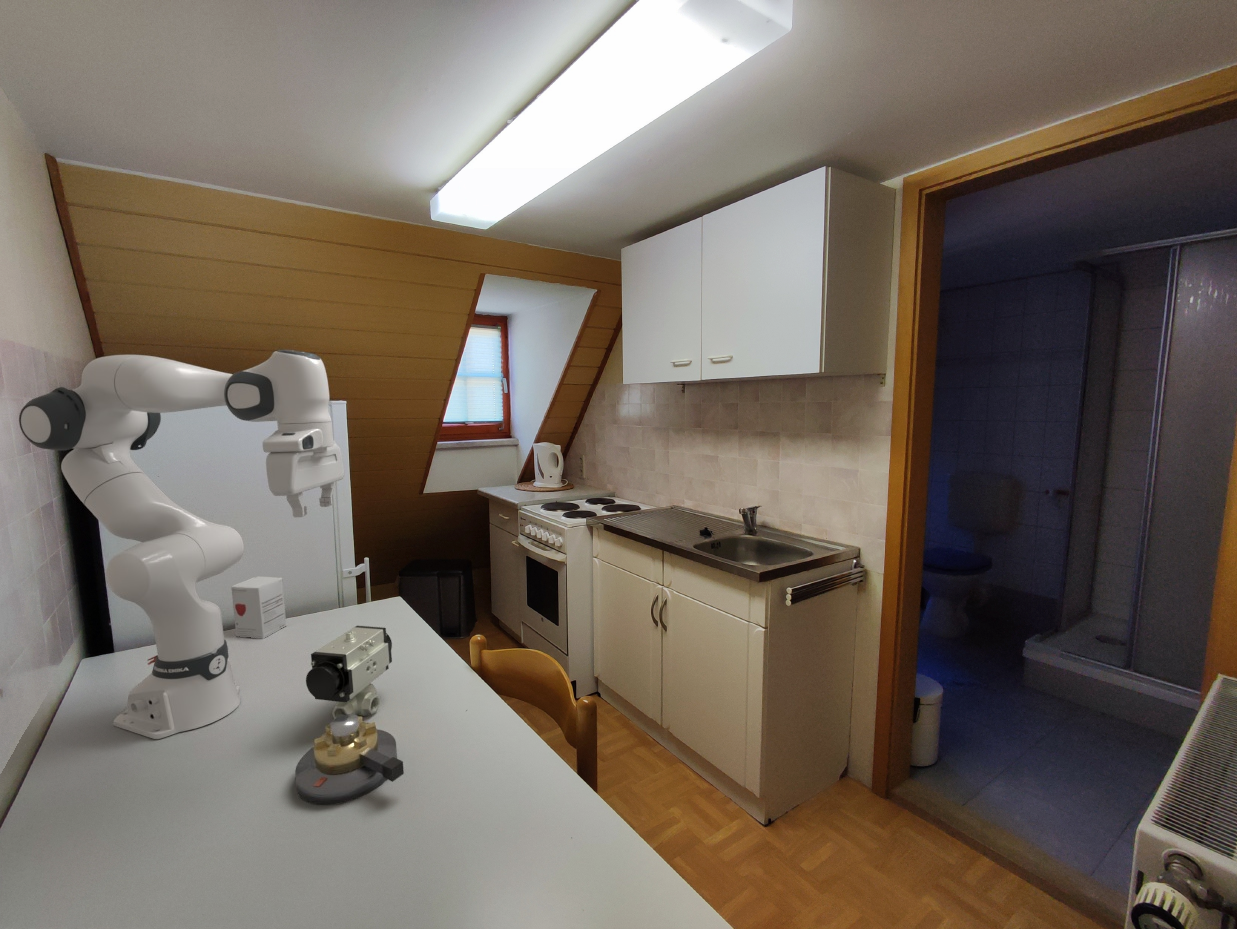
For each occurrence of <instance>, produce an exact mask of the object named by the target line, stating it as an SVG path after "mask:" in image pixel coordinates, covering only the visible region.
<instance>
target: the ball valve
mask: <svg viewBox="0 0 1237 929" xmlns="http://www.w3.org/2000/svg"><path fill="white" fill-rule="evenodd" d="M386 629H387V628H386V627H383V626H381V627H380V626H379V627H378V626H366V625H356V626H354V627H352V628H351V629H349V630H347V631H346V632H343V634H341V635H340V636H338V637H336V638H335V639H333V640H331V641H330V642H328V643H327V644H325V645H324V646H322V647H320V648H318V649H316V651H314V652H312V653H311V654H310V659H311V662H310V666H311V669H310V670H309V671H307V673H306V677H305V685H306V687H307V691H308V692H309V694H311V695H312V696H313V698H314V699H315V700H321V701H328V702H330V701H331V702H336V704H335V706H334V708H333V709H332V712H331V715H332V717H333V720H334V719H336V718H337V717H340V716H342V715H346V714H355V715H357V716H364V717H365V716H369V715H373V714H375V713H376V712H377V711H378V710H379V707H380V705H381V704H380V703H381V698H380V696H379V695H378V694H377V693H378V691H377V689H376V686H375V685H374V684H373V682H374V681H375V680H376V679H377V678H379V677H380V676H381V675H383V674H384V673H385V672H386V671H387V670H389V667H390V666H389V665H390V664H392V663H393V658H392V648H393V643H392V639H391V637H390V635H389V634H388V633H387V630H386Z"/></svg>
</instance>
